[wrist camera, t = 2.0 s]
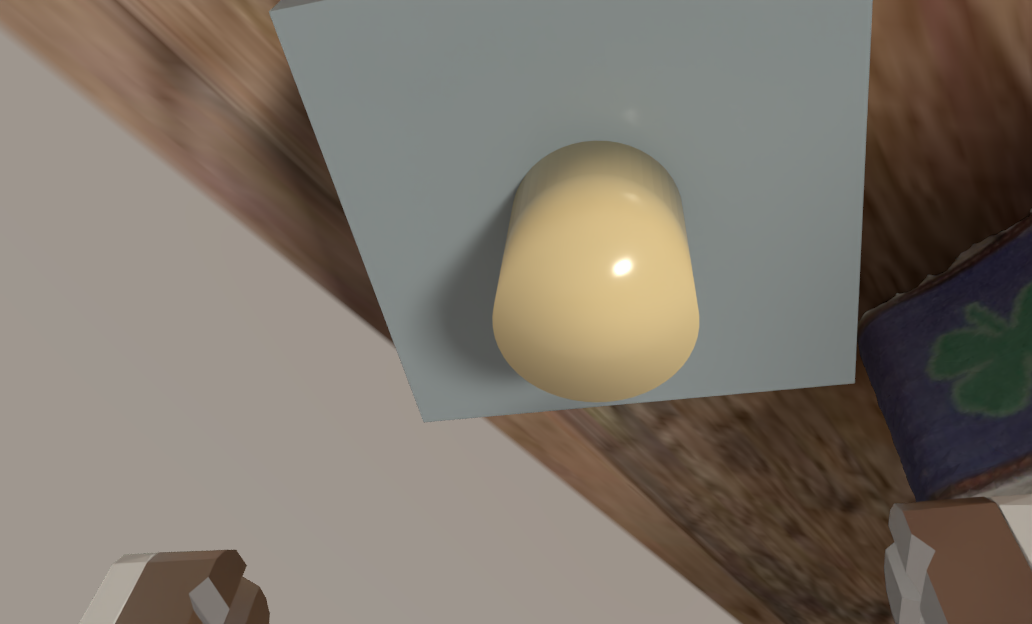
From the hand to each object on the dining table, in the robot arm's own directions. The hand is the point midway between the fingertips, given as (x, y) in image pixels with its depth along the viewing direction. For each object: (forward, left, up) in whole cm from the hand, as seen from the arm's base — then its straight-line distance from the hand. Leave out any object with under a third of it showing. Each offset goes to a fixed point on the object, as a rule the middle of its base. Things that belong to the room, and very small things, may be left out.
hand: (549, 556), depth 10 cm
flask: (-12, +10, -18) cm, 24 cm away
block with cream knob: (-1, 0, -10) cm, 10 cm away
